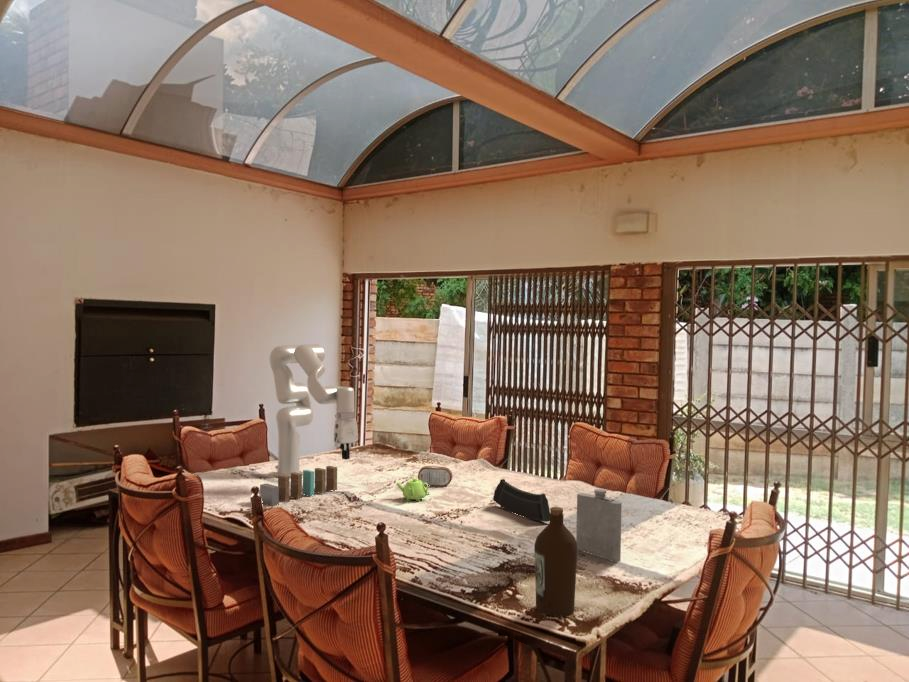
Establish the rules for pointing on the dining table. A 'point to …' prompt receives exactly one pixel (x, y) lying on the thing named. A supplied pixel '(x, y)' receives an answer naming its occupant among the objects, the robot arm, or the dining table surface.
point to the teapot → (414, 489)
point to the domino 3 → (308, 482)
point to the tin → (435, 475)
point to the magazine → (522, 502)
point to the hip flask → (599, 525)
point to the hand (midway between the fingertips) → (345, 458)
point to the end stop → (269, 494)
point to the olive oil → (555, 567)
